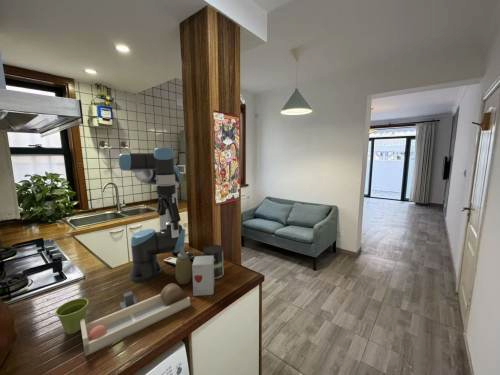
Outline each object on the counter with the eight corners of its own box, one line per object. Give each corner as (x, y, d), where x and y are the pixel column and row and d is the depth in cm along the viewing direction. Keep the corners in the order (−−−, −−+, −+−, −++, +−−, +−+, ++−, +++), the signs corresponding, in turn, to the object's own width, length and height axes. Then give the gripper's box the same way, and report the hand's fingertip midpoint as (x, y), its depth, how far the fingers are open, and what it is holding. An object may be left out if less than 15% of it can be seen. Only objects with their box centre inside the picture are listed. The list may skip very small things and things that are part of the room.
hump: (161, 305, 93) (159, 287, 92) (179, 297, 98) (178, 280, 97) (166, 312, 89) (165, 294, 88) (185, 303, 94) (184, 286, 93)
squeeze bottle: (191, 285, 107) (189, 249, 105) (174, 287, 106) (172, 251, 104) (193, 276, 115) (191, 243, 113) (177, 277, 114) (174, 244, 111)
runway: (82, 335, 78) (79, 320, 77) (179, 293, 101) (178, 281, 100) (85, 356, 70) (82, 339, 69) (190, 305, 93) (189, 292, 92)
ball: (92, 322, 74) (84, 335, 74) (95, 334, 71) (87, 348, 71) (108, 321, 78) (100, 333, 78) (111, 332, 75) (103, 345, 75)
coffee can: (217, 281, 111) (216, 254, 109) (200, 276, 115) (199, 251, 113) (227, 271, 120) (226, 246, 118) (211, 267, 124) (210, 243, 122)
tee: (119, 304, 94) (118, 293, 93) (135, 298, 98) (134, 287, 97) (122, 311, 90) (121, 300, 89) (138, 305, 93) (137, 294, 93)
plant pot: (85, 334, 78) (82, 312, 77) (52, 341, 76) (49, 318, 74) (95, 316, 87) (92, 296, 86) (66, 321, 85) (63, 300, 83)
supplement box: (192, 296, 99) (191, 264, 97) (195, 284, 108) (194, 255, 106) (213, 295, 100) (212, 263, 97) (214, 283, 108) (213, 254, 106)
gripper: (147, 183, 101) (151, 228, 104) (168, 188, 82) (171, 243, 85) (164, 181, 106) (167, 224, 109) (187, 186, 87) (190, 238, 90)
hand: (169, 233), depth 97 cm, fingers open, 13 cm apart
